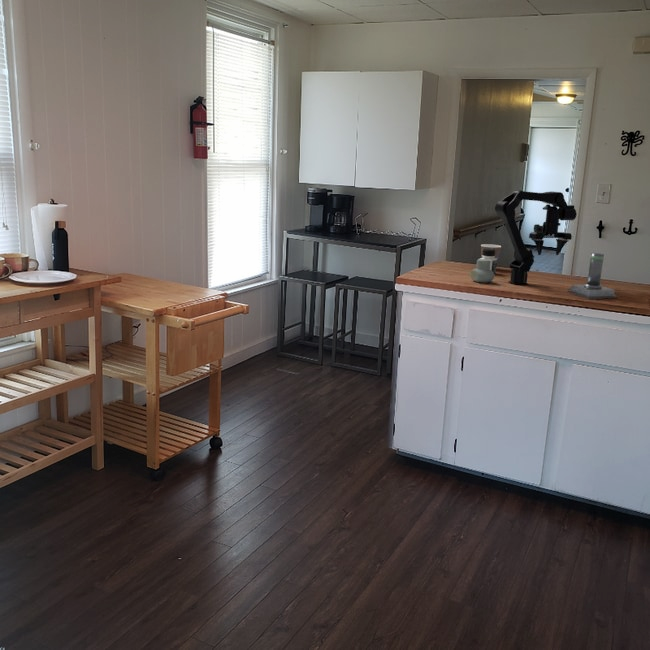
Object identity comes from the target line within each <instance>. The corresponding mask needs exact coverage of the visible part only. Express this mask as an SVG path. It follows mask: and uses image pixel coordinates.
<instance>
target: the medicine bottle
mask: <svg viewBox="0 0 650 650" xmlns="http://www.w3.org/2000/svg"><path fill="white" fill-rule="evenodd" d="M482 257H483V258H481V257H480V258H479V259H487V260H490V270H491V271H493V272H494V273H495V274H496V273H497V266H498V263H497V259H495V250H494V249H489V248H485V249H483V251H482Z"/></svg>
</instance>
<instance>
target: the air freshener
mask: <svg viewBox="0 0 650 650" xmlns="http://www.w3.org/2000/svg"><path fill="white" fill-rule="evenodd" d="M495 275H496V274H494V272H493V271H491V270H490V260H487V259H480V258H478V259H477V260H476V268H474V269H472V270H471V271H470V278H471V280H473V281H474V282H475V283H483V284H484V283H485V284H488V283H490V282H492V281H493V280H494V279H495Z"/></svg>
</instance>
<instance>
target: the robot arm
mask: <svg viewBox="0 0 650 650" xmlns="http://www.w3.org/2000/svg"><path fill="white" fill-rule="evenodd" d="M522 201H533V202H534V201H535V202H536V201H537V202H542V203H544V204H546V205H545V206H543V207H542V210H543V211H544V210H545V211H546V215H545V221H543V223H542V225H540V224H534V225H533V231H530V233H529V234H528V239H531V240H532V241H533V242H534V245H535V246H536V251H537V254H538V256H541V255H542V253H543V252H542V251H543V247H544V243H545V240H544V239H555V240H556V247H555V248H556V250H555V255H556V256H559V254H560V253H561V251H562V249H563V248H564V246H565V245H566V244H567V243H568V242H569V241H570V240H571V241H572V238H573V235H572V233H570V232H566V231H561V232H560V231H559V227H560V226H561V222H560V221H575V219H576V218H577V210H576V208H575V205H573V204H571V205H568V203H567V201H566V199H565V196H564V194H563V192H561V191H545V192H536V191H535V192H534V191H526V190H524V191H523V190H520V189H518V190H517V189H515V190H513V191H512V192H511V194H509V195H507V196H505V197H504V198H502V199H501V200H499V201H497V203H496V204H495V206H494V211H495V213H496V214H497V216H498V217H499V218H500V220H502V222H503V223H504V225H505V229H506V230H507V235H508V236H509V239H510V242H511V244H512V246H513V249H514V253H513V258H514V259H513V260H512V261H511V262H510V263H509V264H508V265H509V269H511V271H510V272H511V273H510V281H509V280H508V283H510V284H512V285H518V286H519V285H520V286H522V285H525V286H526V285H528V283H527V282H528V275H529V274H528V273H529V272H530V270H531V268H532V266H533V265H534V262H535V256H534V253H533V250H532V249H531V248H527V247H526V245H525V243H524V239H523V237H522V235H521V231H520V229H519V227H518V224H517V222H516V219H515V218H516V208H518V207H519V206H520V203H521V202H522Z"/></svg>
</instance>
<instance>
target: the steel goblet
mask: <svg viewBox="0 0 650 650" xmlns="http://www.w3.org/2000/svg"><path fill="white" fill-rule="evenodd" d="M589 259H590V260H589V267H588V273H587V275H588V276H587V282H586V283H583V285H584V287H587V288H593V289H601V288H602V286H603V285H602V284H601V277H602V273H603V265H604V264H603V263H604V259H605V254H604V253H600V252H592V253H590V258H589Z"/></svg>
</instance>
